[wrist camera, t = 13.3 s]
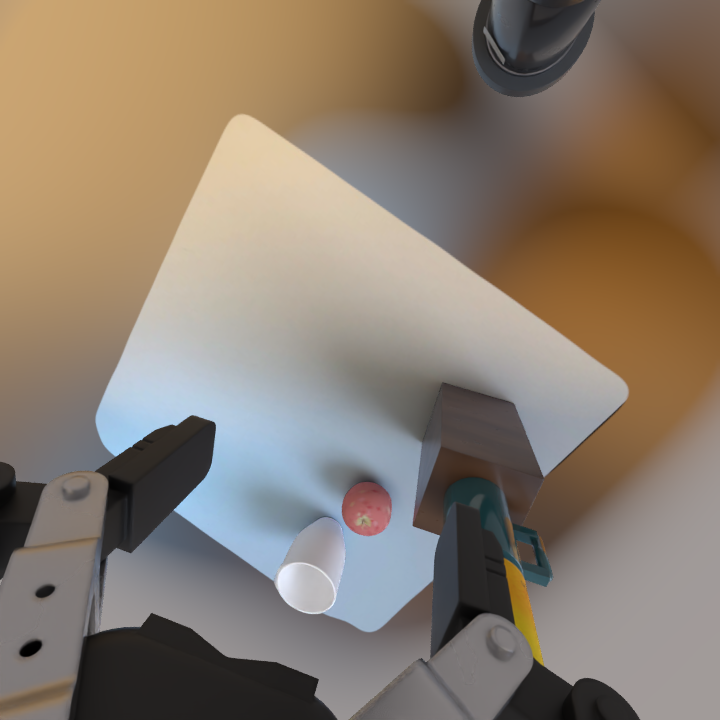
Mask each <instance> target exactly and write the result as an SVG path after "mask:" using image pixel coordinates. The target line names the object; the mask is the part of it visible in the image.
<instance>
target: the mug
mask: <svg viewBox="0 0 720 720" xmlns="http://www.w3.org/2000/svg"><path fill="white" fill-rule="evenodd" d="M345 556H346V551H345V543H344V537H343V531H342V527H341V526H340V524H339V523H338V522H337V521H336V520H334V519H332V518H329V517H322V518H319V519H318V520H316V521H315V522H313V523H312V524H310V525H309V526H307V527H306V528H304V529H303V530H302V531H301V532H300V533H299V534H298V535H297V536H296V538H295V539H294V541H293V543H292V545H291V547H290V549H289V551H288V553H287V555H286V557H285V559H284V562H283V563H282V564H281V566H280V567H279V569H278V571H277V573H276V575H275V579H274V583H275V586H276V588H277V589H278V591H279V593H280V595H281V597H282V598H283V599H284V600H285V601H286V602H287V603H288V604H289V605H290V606H291V607H293V608H295V609H296V610H299V611H301V612H304V613H309V614H319V613H323V612H325V611H327V610H328V609H330V608H331V607H332V605H333V604H334V602H335V599H336V595H337V591H338V587H339V584H340V580H341V576H342V572H343V568H344V563H345Z"/></svg>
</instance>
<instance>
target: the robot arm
mask: <svg viewBox="0 0 720 720" xmlns="http://www.w3.org/2000/svg"><path fill="white" fill-rule="evenodd" d="M600 1H601V0H492V1H491V6H490V10H489V13H488V17H487V22H486V28H485V26H484V30H483V32H484V34H485V38H486V45H487V49H488V52H489V55H490V57H491V58H492V60H493V62H494V63H495V64H496V65H497V66H498V67H499V68H500V69H501V70H502V71H504V72H505V73H507V74H510V75H512V76H516V77H531V76H535V75H539V74H541V73H544V72H546V71H547V70H549V69H551V68H552V67H553V66H555V65H556V64H557V63H558V62H559V61H560V60H561V59H562V58H563V57H564V56H565V55H566V54H567V52H568V51H569V50H570V48H571V47H572V45H573V43H574V42H575V40H576V38H577V36H578V34H579V33H580V32H581V30H582V29H583V27H584V25H585V24H586V22H587V21H588V19H589V18H590V16H591V15H592V13H593V12H594V10H595V9H596V7H597V6H598V4H599V3H600ZM215 431H216V425H215V423H214V422H212V421H209V420H206V419H203V418H200V417H197V416H194V415H192V416H190V417H188V418H187V419H185V420H184V421H183V422H181V423H180V424H178V425H177V426H175V425H169V426H166V427H163V428H160V429H157V430H155V431H153V432H152V433H150V434H149V435H147V436H146V437H144V438H143V440H140V441H138V442H137V443H135V444H134V445H133V446H132V448H131V447H130V448H128V449H127V450H125V451H124V452H122V453H121V454H119V455H118V456H116V457H115V458H114V459H112V460H111V461H109V462H108V463H106V464H105V465H103V466H102V467H100V468H99V469H98V470H96V471H95V472H93V471H76V472H71V473H67V474H64V475H61V476H59V477H57V478H55V479H53V480H52V481H50V482H49V483H48V484H42V483H29V482H17V481H16V478H15V470H14V468H13V467H12V466H10V465H9V464H6V463H3V462H0V580H1V579H2V578H3V579H2V582H1V585H0V720H337V718H336V717H335V716H334V714H333V713H332V712H331V711H330V710H329V708H328V707H326V705H325V704H324V703H323V702H322V701H320V700H319V699H318V698H316V697H315V696H314V694H315V691H316V687H317V684H318V680H319V679H317V678H314V677H312V676H309V675H307V674H304V673H302V672H299V671H297V670H294V669H292V668H289V667H287V666H284V665H281V664H279V663H277V662H268V661H257V660H247V659H236V658H229V657H226V656H224V655H223V654H222V653H220V652H219V651H218V650H217V649H215V648H214V647H213V646H212V645H211V644H209V643H208V642H207V641H206V640H204V639H203V638H202V637H201V636H200V635H198V634H197V633H196V632H195V631H193V630H192V629H191V628H188V627H186V626H183V625H181V624H178V623H176V622H173V621H171V620H168V619H166V618H163V617H160V616H158V615H155V614H153V613H151V614H150V616H149V617H148V618H147V620H146V621H145V622H144V623H143V625H142V626H141V627H123V628H116V629H110V630H106V631H102V632H100V622H101V613H102V604H103V597H104V588H105V579H106V570H107V559H108V558H107V557H108V555H109V554H110V553H111V552H112V551H113V550H114V549H115V548H119V549H121V550H124V551H126V552H129V553H132V552H133V551H134V550H135V549H136V548H137V547H138V546H139V545H140V544H141V543H142V541H143V540H145V539H146V538H147V537H148V535H149V534H150V533H151V532H152V531H153V530H154V529H155V528H156V527H157V526H158V525H159V524H160V523H161V522H162V521H163V520H164V519H165V518H166V517H167V516H168V515H169V514H170V513H171V512H172V511H173V510H174V509H175V508H176V507H177V506H178V505H179V504H180V503H181V502H182V501H183V500H184V499H185V498H186V497H187V496H188V495H189V494H190V493H191V492H192V491H193V490H194V489H195V488H196V487H197V485H198V484H199V483H200V482H201V481H202V480H203V479H204V478H205V477H206V475H207V473H208V471H209V469H210V466H211V463H212V456H213V448H214V440H215ZM506 575H507V574H506V568H505V565H504V556H503V550H502V546H501V545H500V543H499V541H498V540H497V538H496V536H495V535H494V533H493V532H492V531H489V530H486V529H483V528H481V520H480V511H479V509H476V508H473V507H470V506H467V505H464V504H461V503H458V502H454V503H453V504H452V506H451V509H450V512H449V514H448V517H447V519H446V522H445V525H444V527H443V530H442V532H441V535H440V538H439V540H438V544H437V548H436V552H435V559H434V581H433V606H432V630H431V655H430V660H429V661H427V662H425V661H424V660H423V659H422V658H421V659H418V660H416V661H415V662H413V663H412V664H411V665H410V666H409V667H408V668H407V669H405V670H404V671H403V672H402V673H401V674H400V675H399V676H398V677H396V678H395V679H394V680H393V681H392V682H391V683H390V684H388V685H387V686H386V687H385V688H384V689H383V690H382V691H381V692H379V693H378V694H377V695H376V696H375V697H374V698H373V699H372V700H370V701H369V702H368V703H367V704H366V705H365V706H364V707H362V708H361V709H360V710H359V711H358V712H357V713H356V714H355V715H353V716H352V717H351V718H350V719H349V720H640V719H639V717H638V716H637V714H636V713H635V711H634V710H633V709H632V707H631V706H630V705H629V704H628V703H627V701H626V700H625V699H624V698H623V697H622V696H621V695H619V694H618V693H617V692H616V691H615V690H613V689H612V688H611V687H609V686H608V685H606V684H604V683H602V682H600V681H598V680H595V679H591V678H583V679H580V680H578V681H577V682H576V683H575V685H574V686H572V685H570V684H569V683H567V682H566V681H564V680H563V679H561V678H560V677H559V676H557V675H556V674H554V673H553V672H551V671H550V670H548V669H547V668H545V667H544V666H543V665H541V664H540V663H539V662H538V661H537V660H536V659H535V658H534V657H533V654H532V650H531V647H530V645H529V643H528V641H527V639H526V638H525V636H524V635H523V634H522V632H521V631H520V630H519V629H518V628H517V627H516V626H515V620H514V615H513V609H512V603H511V597H510V591H509V585H508V579H507V578H506Z"/></svg>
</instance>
